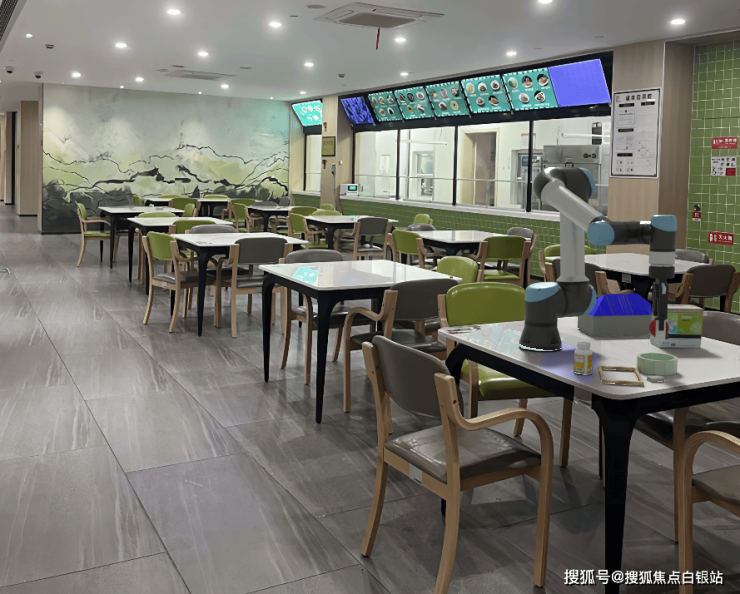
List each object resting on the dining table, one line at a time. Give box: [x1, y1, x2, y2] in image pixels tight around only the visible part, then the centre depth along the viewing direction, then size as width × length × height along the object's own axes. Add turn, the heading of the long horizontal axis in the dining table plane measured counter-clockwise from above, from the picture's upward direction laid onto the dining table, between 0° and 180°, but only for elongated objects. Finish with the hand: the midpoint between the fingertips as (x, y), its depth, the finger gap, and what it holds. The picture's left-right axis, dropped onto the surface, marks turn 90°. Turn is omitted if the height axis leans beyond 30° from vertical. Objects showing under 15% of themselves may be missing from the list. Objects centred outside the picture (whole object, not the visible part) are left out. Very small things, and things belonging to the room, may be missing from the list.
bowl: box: [636, 352, 679, 376], centre depth 228 cm, size 12×12×4 cm
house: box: [577, 293, 653, 337], centre depth 291 cm, size 25×16×16 cm, turn 95°
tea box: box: [649, 303, 705, 349], centre depth 264 cm, size 15×10×15 cm, turn 88°
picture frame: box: [597, 365, 645, 387], centre depth 221 cm, size 12×19×1 cm, turn 166°
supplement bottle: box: [573, 341, 593, 375], centre depth 225 cm, size 5×5×10 cm
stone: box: [646, 375, 666, 383], centre depth 217 cm, size 4×3×2 cm
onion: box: [649, 319, 669, 337], centre depth 226 cm, size 6×6×8 cm
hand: (658, 338), depth 227 cm, fingers closed on onion, 6 cm apart
